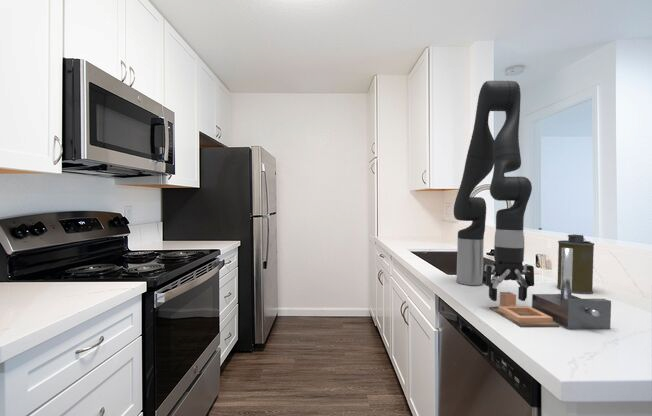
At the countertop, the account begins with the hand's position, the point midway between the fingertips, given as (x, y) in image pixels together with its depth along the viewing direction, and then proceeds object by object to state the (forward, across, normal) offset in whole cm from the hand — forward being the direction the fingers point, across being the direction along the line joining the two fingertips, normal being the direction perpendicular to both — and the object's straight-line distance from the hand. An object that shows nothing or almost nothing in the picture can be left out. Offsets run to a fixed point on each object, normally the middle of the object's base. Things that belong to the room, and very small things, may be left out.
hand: (507, 300), depth 95 cm
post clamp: (+3, -12, +9) cm, 15 cm away
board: (+3, 0, +6) cm, 7 cm away
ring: (+2, 0, +5) cm, 6 cm away
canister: (+3, -38, -20) cm, 43 cm away
